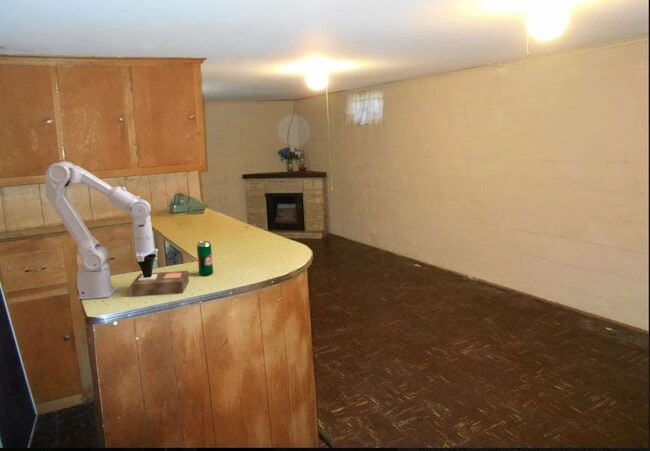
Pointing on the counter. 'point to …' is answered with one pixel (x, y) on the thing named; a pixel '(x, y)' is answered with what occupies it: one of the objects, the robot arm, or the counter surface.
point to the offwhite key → (148, 278)
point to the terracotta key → (172, 276)
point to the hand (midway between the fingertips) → (147, 276)
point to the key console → (160, 285)
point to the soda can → (204, 258)
